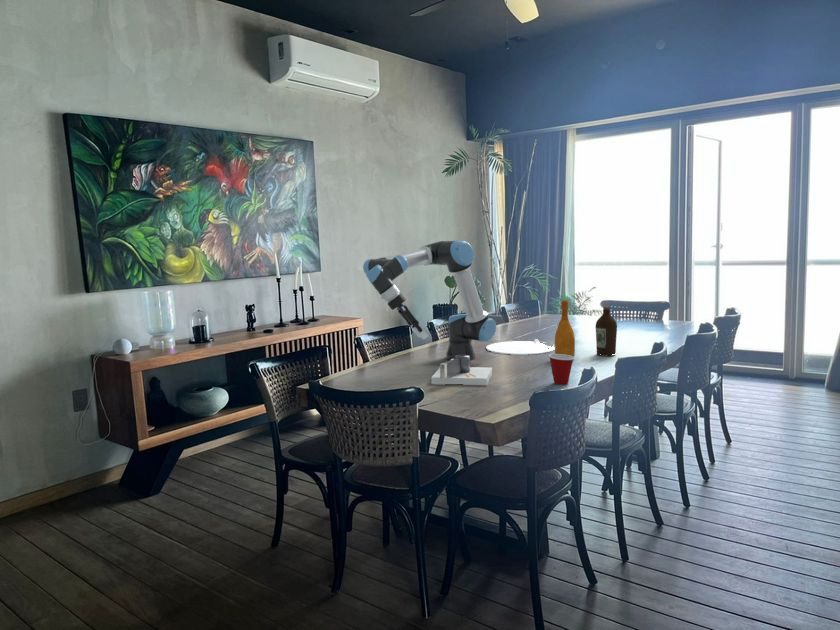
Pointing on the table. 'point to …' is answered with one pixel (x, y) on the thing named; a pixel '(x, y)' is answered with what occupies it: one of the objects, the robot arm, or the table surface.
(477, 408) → the table surface
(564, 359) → the plastic cup
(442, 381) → the instrument base
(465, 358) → the dark grey lever
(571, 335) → the wine bottle
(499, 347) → the lazy susan
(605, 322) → the olive oil
